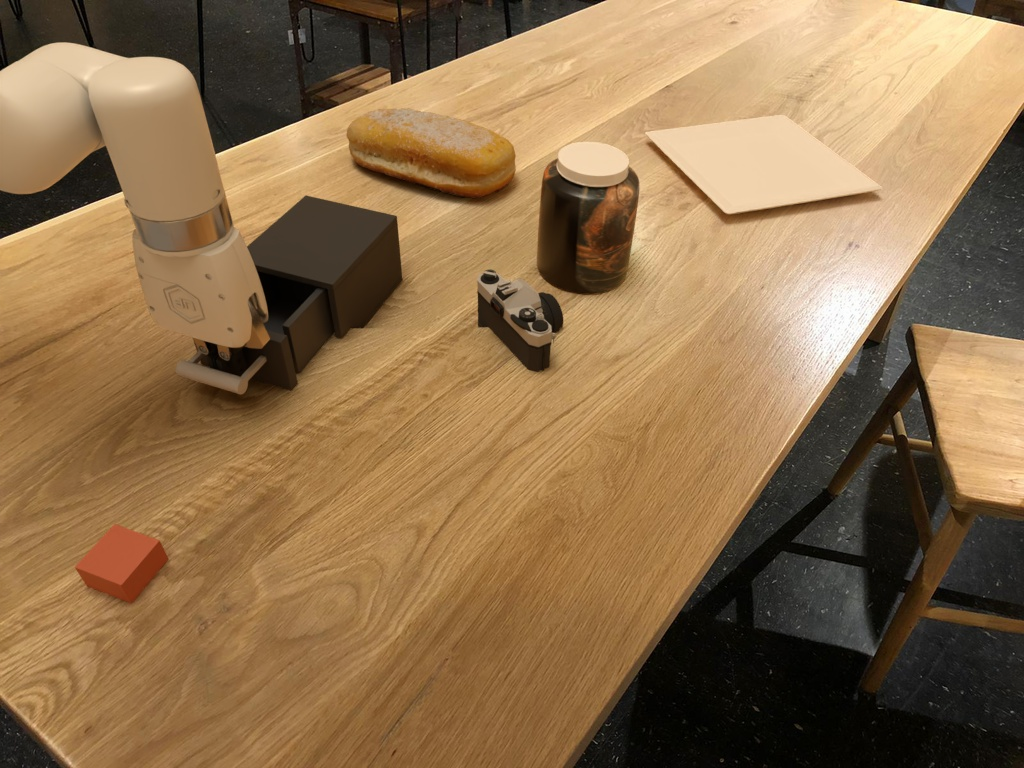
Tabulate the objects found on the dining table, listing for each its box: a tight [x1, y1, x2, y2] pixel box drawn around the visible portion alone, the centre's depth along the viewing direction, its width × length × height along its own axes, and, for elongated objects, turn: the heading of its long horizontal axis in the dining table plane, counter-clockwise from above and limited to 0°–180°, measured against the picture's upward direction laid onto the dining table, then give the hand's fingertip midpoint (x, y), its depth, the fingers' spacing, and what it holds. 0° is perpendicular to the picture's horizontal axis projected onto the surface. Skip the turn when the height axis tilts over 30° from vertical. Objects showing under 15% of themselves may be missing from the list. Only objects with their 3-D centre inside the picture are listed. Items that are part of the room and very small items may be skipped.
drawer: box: [175, 271, 335, 395], centre depth 79 cm, size 18×11×7 cm, turn 160°
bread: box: [346, 107, 517, 199], centre depth 112 cm, size 13×26×8 cm, turn 64°
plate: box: [644, 114, 883, 216], centre depth 117 cm, size 26×26×2 cm
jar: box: [536, 141, 640, 295], centre depth 92 cm, size 12×12×15 cm
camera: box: [476, 269, 564, 373], centre depth 84 cm, size 13×8×9 cm, turn 34°
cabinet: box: [246, 195, 403, 340], centre depth 88 cm, size 15×12×9 cm
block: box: [74, 523, 169, 604], centre depth 61 cm, size 4×4×4 cm
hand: (232, 379), depth 76 cm, fingers closed
